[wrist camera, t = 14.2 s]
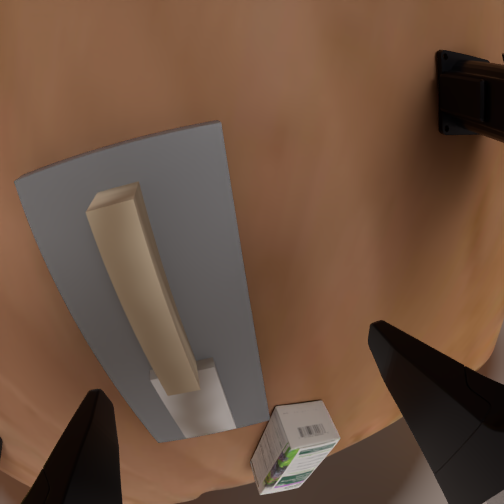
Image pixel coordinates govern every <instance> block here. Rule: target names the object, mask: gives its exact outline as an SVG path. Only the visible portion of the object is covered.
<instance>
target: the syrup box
mask: <svg viewBox="0 0 504 504" xmlns="http://www.w3.org/2000/svg"><path fill="white" fill-rule="evenodd" d="M339 440H340V436H339V434H338V431H337V430H336V427H335V425H334V423H333V421H332V419H331V417H330V415H329V413H328V411H327V409H326V407H325V405H324V403H323V401H322V400H319V401H312V402H305V403H298V404H289V405H281V406H276V407H275V409H274V411H273V413H272V416H271V418H270V420H269V422H268V425H267V427H266V429H265V431H264V434H263V436H262V438H261V440H260V442H259V445H258V447H257V449H256V451H255V453H254V455H253V457H252V459H251V462H250V463H251V467H252V471H253V475H254V479H255V482H256V485H257V488H258V491H259V494H260V495H263V494H269V493H274V492H279V491H285V490H290V489H293V488H298V487H300V486H301V485H302V484H303V483H304V481H305V480H306V479H307V478H308V477H309V476H310V475H311V473H312V472H313V471H314V470H315V469H316V468H317V467H318V465H319V464H320V463H321V462H322V461H323V459H324V458H325V457H326V456H327V455H328V453H329V452H330V451H331V450H332V448H333V447H334V446H335V445H336V444H337V442H338V441H339Z"/></svg>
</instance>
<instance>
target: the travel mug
mask: <svg viewBox="0 0 504 504" xmlns="http://www.w3.org/2000/svg"><path fill="white" fill-rule="evenodd" d="M1 450H2V439H1V438H0V457H1Z"/></svg>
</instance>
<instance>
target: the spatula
mask: <svg viewBox="0 0 504 504" xmlns="http://www.w3.org/2000/svg"><path fill="white" fill-rule="evenodd" d="M86 215H87V218H88V221H89V224H90V227H91V230H92V232H93V235H94V238H95V241H96V243H97V246H98V249H99V251H100V254H101V257H102V259H103V262H104V264H105V267H106V269H107V272H108V274H109V277H110V279H111V281H112V284H113V286H114V288H115V291H116V293H117V295H118V298H119V300H120V302H121V305H122V307H123V309H124V311H125V313H126V316H127V318H128V320H129V322H130V324H131V326H132V328H133V330H134V333H135V335H136V337H137V339H138V341H139V343H140V345H141V347H142V349H143V351H144V353H145V355H146V357H147V359H148V361H149V362H150V364H151V366H152V368H153V370H150V381H151V382H152V384H153V386H154V388H155V389H156V391H157V393H158V394H159V396H160V398H161V399H162V401H163V403H164V404H165V406H166V408H167V409H168V411H169V412H170V414H171V416H172V417H173V419H174V420H175V422H176V423H177V425H178V426H179V428H180V430H181V431H182V433H183V434H184V436H185V437H186V438H191V437H197V436H202V435H207V434H212V433H217V432H222V431H227V430H231V429H236V425H235V421H234V418H233V415H232V412H231V409H230V407H229V404H228V401H227V398H226V395H225V392H224V389H223V387H222V384H221V381H220V378H219V375H218V372H217V369H216V366H215V363H214V360H213V357H212V358H207V359H203V360H198V361H196V360H195V357H194V354H193V352H192V349H191V346H190V344H189V341H188V338H187V335H186V333H185V330H184V327H183V324H182V322H181V319H180V316H179V313H178V310H177V307H176V304H175V301H174V298H173V295H172V292H171V289H170V286H169V283H168V280H167V277H166V274H165V271H164V268H163V264H162V261H161V258H160V255H159V252H158V248H157V245H156V242H155V238H154V235H153V231H152V228H151V224H150V221H149V217H148V214H147V210H146V206H145V203H144V199H143V195H142V191H141V187H140V184H139V181H138V182H134V183H130V184H127V185H123V186H119V187H116V188H112V189H108V190H105V191H101V192H98V193H97V194H96V196H95V197H94V199H93V201H92V202H91V204H90V205H89V207H88V209H87V211H86Z"/></svg>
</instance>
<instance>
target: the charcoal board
mask: <svg viewBox="0 0 504 504" xmlns="http://www.w3.org/2000/svg"><path fill="white" fill-rule="evenodd" d="M138 181H139V184H140V187H141V191H142V195H143V199H144V203H145V206H146V210H147V214H148V217H149V221H150V224H151V228H152V231H153V235H154V238H155V242H156V245H157V248H158V252H159V255H160V258H161V261H162V264H163V268H164V271H165V274H166V277H167V280H168V283H169V286H170V289H171V292H172V295H173V298H174V301H175V304H176V307H177V310H178V313H179V316H180V319H181V322H182V324H183V327H184V330H185V333H186V335H187V338H188V341H189V344H190V346H191V349H192V352H193V354H194V357H195V360H196V361H198V360H203V359H207V358H212V357H213V360H214V363H215V366H216V369H217V372H218V375H219V378H220V381H221V384H222V387H223V389H224V392H225V395H226V398H227V401H228V404H229V407H230V409H231V412H232V415H233V418H234V421H235V425H236V428H241V427H245V426H249V425H253V424H257V423H261V422H265V421H268V420H270V416H269V410H268V405H267V399H266V393H265V388H264V382H263V376H262V370H261V364H260V359H259V353H258V347H257V341H256V335H255V329H254V323H253V317H252V311H251V306H250V300H249V294H248V288H247V282H246V275H245V269H244V263H243V257H242V251H241V245H240V239H239V233H238V227H237V220H236V214H235V208H234V202H233V195H232V189H231V183H230V176H229V170H228V164H227V157H226V151H225V144H224V138H223V132H222V125H221V122H220V121H219V120H216V121H210V122H205V123H200V124H195V125H190V126H185V127H180V128H176V129H171V130H167V131H162V132H158V133H154V134H150V135H146V136H142V137H138V138H134V139H130V140H127V141H123V142H119V143H116V144H112V145H109V146H105V147H102V148H99V149H95V150H92V151H89V152H86V153H83V154H79V155H76V156H73V157H70V158H67V159H64V160H62V161H59V162H56V163H53V164H50V165H47V166H45V167H42V168H39V169H37V170H34V171H31V172H29V173H26V174H24V175H22V176H20V177H19V178H18V179H16V180H15V181H14V183H15V186H16V189H17V192H18V195H19V198H20V201H21V204H22V206H23V209H24V212H25V215H26V217H27V220H28V222H29V225H30V228H31V230H32V233H33V235H34V238H35V240H36V242H37V245H38V247H39V249H40V252H41V254H42V256H43V258H44V261H45V263H46V265H47V267H48V269H49V272H50V274H51V276H52V278H53V280H54V282H55V284H56V286H57V288H58V290H59V292H60V294H61V296H62V298H63V300H64V302H65V304H66V306H67V308H68V309H69V311H70V313H71V315H72V317H73V319H74V320H75V322H76V324H77V326H78V328H79V329H80V331H81V333H82V334H83V336H84V338H85V340H86V341H87V343H88V345H89V346H90V348H91V350H92V351H93V353H94V354H95V356H96V358H97V359H98V361H99V362H100V364H101V365H102V367H103V369H104V370H105V372H106V373H107V375H108V376H109V378H110V379H111V381H112V382H113V383H114V385H115V386H116V388H117V389H118V391H119V392H120V394H121V395H122V396H123V398H124V399H125V401H126V402H127V403H128V405H129V406H130V407H131V409H132V410H133V411H134V413H135V414H136V415H137V417H138V418H139V419H140V421H141V422H142V423H143V425H144V426H145V427H146V428H147V430H148V431H149V432H150V433H151V435H152V436H153V437H154V438H155V439H156V441H157V442H158V443H161V442H168V441H174V440H181V439H187V438H186V437H185V436H184V434H183V433H182V431H181V430H180V428H179V426H178V425H177V423H176V422H175V420H174V419H173V417H172V416H171V414H170V412H169V411H168V409H167V408H166V406H165V404H164V403H163V401H162V399H161V398H160V396H159V394H158V393H157V391H156V389H155V388H154V386H153V384H152V382H151V381H150V370H153V368H152V366H151V364H150V362H149V361H148V359H147V357H146V355H145V353H144V351H143V349H142V347H141V345H140V343H139V341H138V339H137V337H136V335H135V333H134V330H133V328H132V326H131V324H130V322H129V320H128V318H127V316H126V313H125V311H124V309H123V307H122V305H121V302H120V300H119V298H118V295H117V293H116V291H115V288H114V286H113V284H112V281H111V279H110V277H109V274H108V272H107V269H106V267H105V264H104V262H103V259H102V257H101V254H100V251H99V249H98V246H97V243H96V241H95V238H94V235H93V232H92V230H91V227H90V224H89V221H88V218H87V215H86V211H87V209H88V207H89V205H90V204H91V202H92V201H93V199H94V197H95V196H96V194H97V193H98V192H101V191H105V190H108V189H112V188H116V187H119V186H123V185H127V184H130V183H134V182H138ZM231 430H232V429H231ZM227 431H228V430H227ZM222 432H223V431H222ZM217 433H218V432H217ZM212 434H213V433H212ZM207 435H208V434H207ZM202 436H203V435H202ZM197 437H198V436H197ZM191 438H192V437H191Z"/></svg>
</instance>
